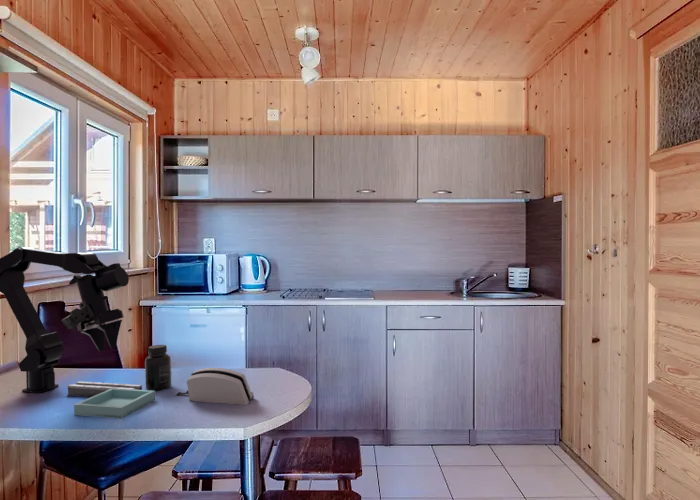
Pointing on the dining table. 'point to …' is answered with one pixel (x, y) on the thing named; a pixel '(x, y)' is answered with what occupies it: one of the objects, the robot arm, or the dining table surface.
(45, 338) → the robot arm
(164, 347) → the supplement bottle
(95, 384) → the t-slot rail
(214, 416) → the dining table surface
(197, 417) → the dining table surface
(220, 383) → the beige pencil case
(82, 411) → the tray
